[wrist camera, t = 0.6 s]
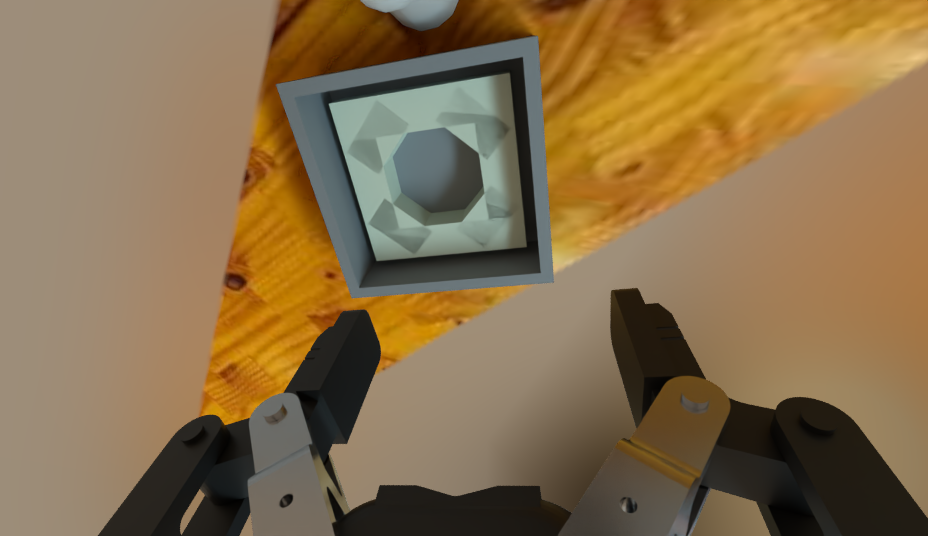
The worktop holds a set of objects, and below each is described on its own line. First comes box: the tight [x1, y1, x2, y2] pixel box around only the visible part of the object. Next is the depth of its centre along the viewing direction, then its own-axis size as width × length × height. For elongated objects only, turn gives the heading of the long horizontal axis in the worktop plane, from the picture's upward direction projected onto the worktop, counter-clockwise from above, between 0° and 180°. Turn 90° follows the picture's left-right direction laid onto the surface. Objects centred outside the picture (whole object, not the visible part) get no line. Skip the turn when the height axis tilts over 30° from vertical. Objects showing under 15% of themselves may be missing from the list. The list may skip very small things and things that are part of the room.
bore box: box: [276, 36, 554, 298], centre depth 34 cm, size 18×18×7 cm
